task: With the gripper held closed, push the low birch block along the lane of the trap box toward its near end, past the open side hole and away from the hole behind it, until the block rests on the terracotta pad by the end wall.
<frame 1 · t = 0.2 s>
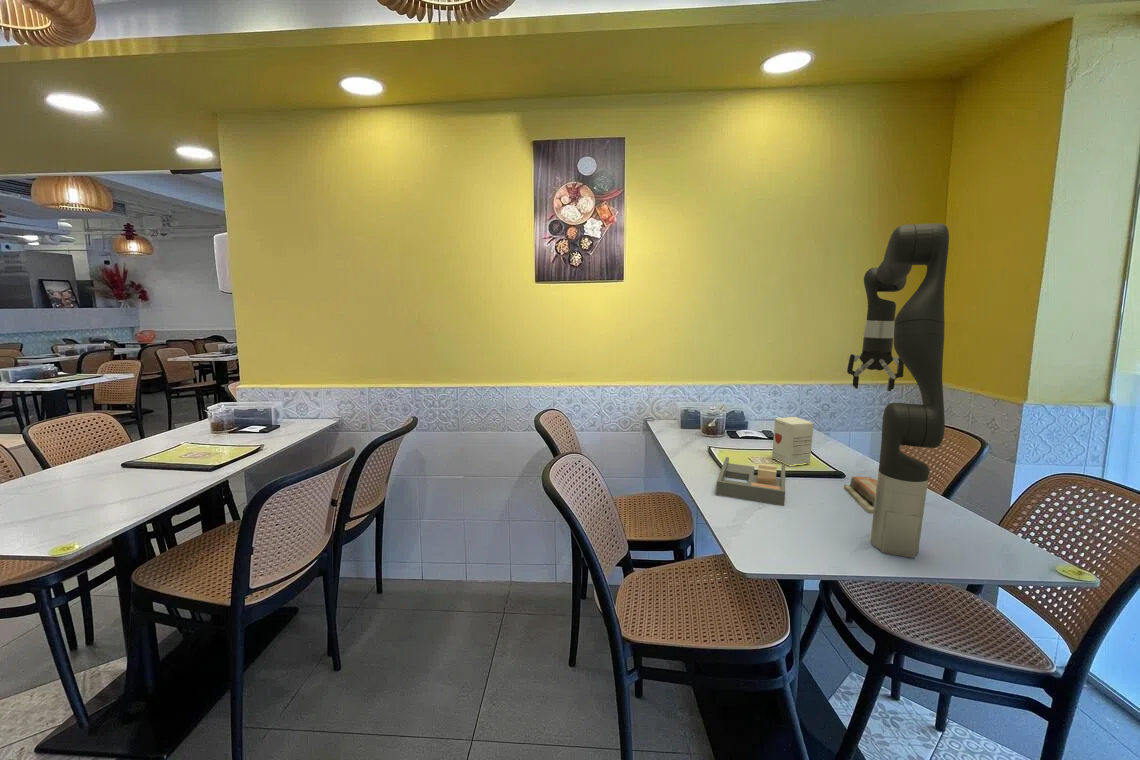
hand: (872, 389, 147), 29 cm above the table, tool pointing down, fingers open, 8 cm apart
block: (766, 480, 146), point 2 cm above the table, touching trap box
trap box: (751, 485, 147), on the table
packaged product: (873, 503, 137), on the table
supplement box: (790, 462, 169), on the table
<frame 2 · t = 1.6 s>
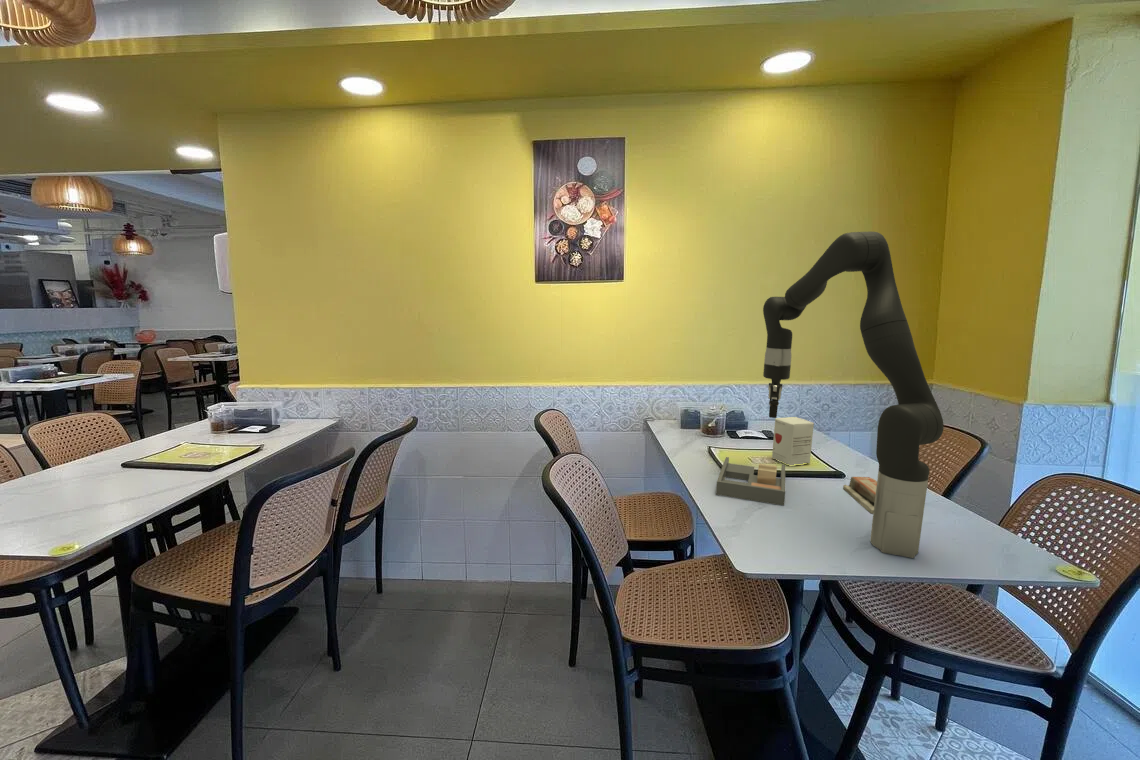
hand: (773, 414, 152), 20 cm above the table, tool pointing down, fingers open, 8 cm apart
nothing on the table moved.
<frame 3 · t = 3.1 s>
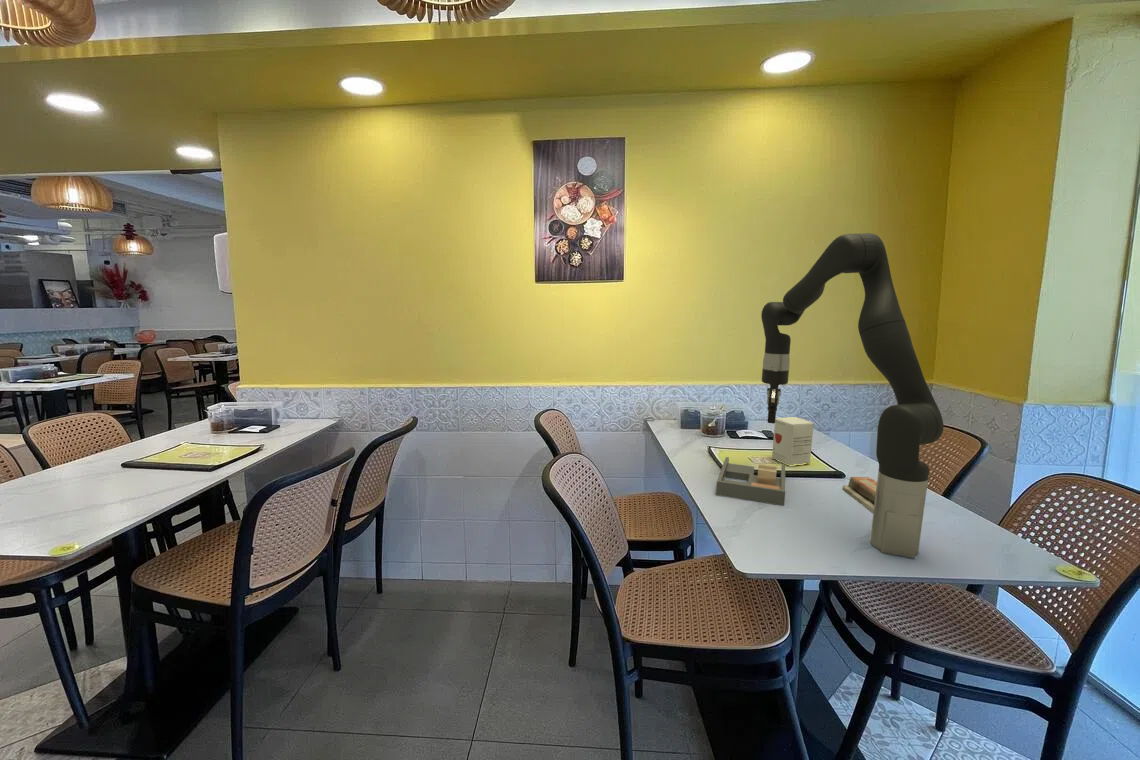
hand: (771, 422, 152), 18 cm above the table, tool pointing down, fingers closed
nothing on the table moved.
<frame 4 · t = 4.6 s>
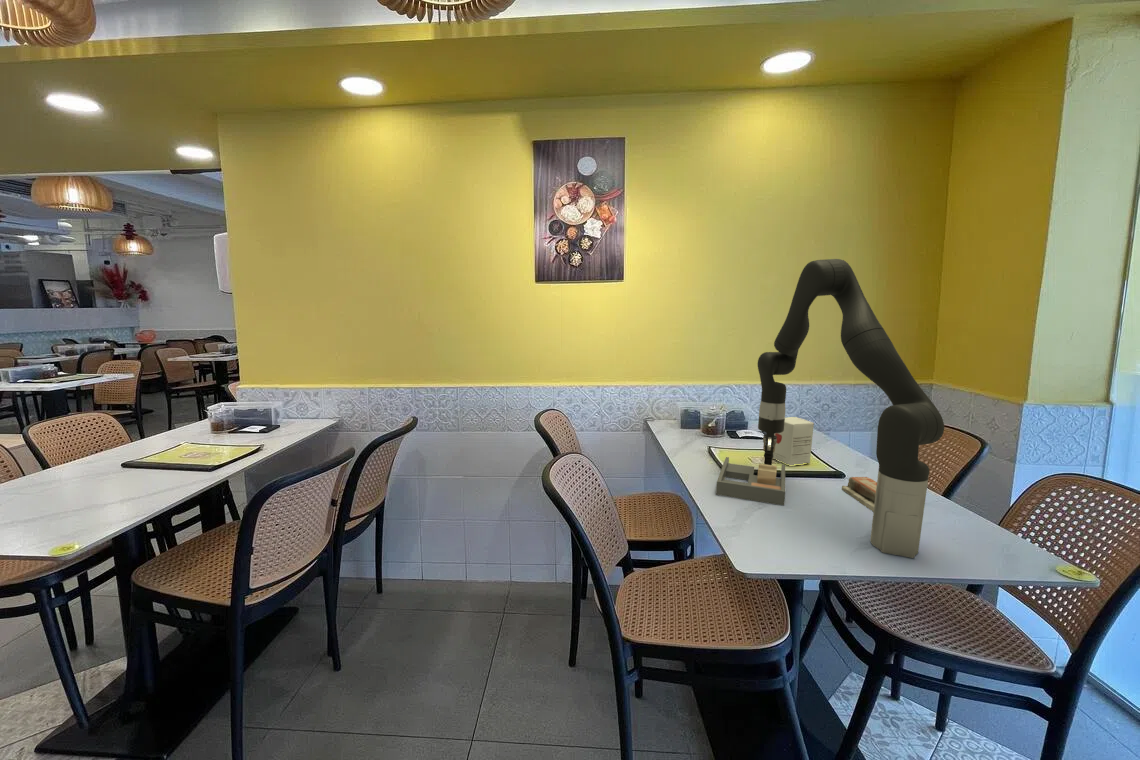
hand: (767, 468, 154), 3 cm above the table, tool pointing down, fingers closed
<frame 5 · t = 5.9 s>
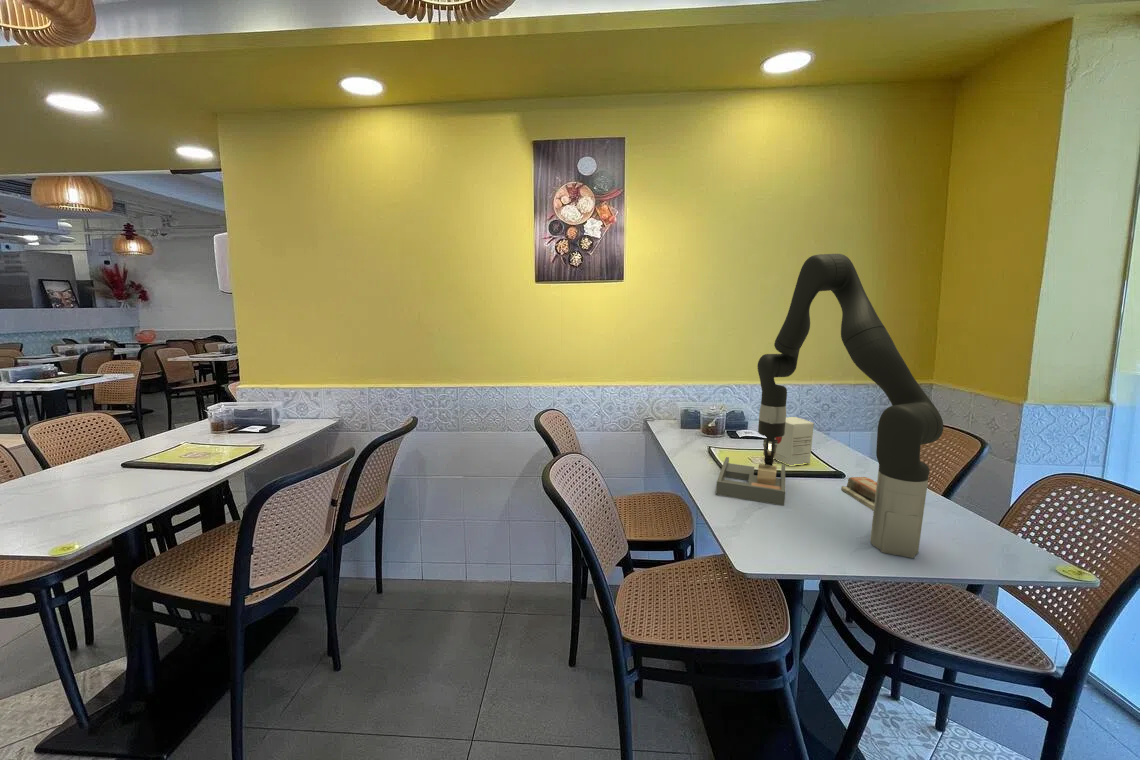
hand: (767, 473, 151), 2 cm above the table, tool pointing down, fingers closed
block: (766, 480, 146), point 2 cm above the table, touching gripper
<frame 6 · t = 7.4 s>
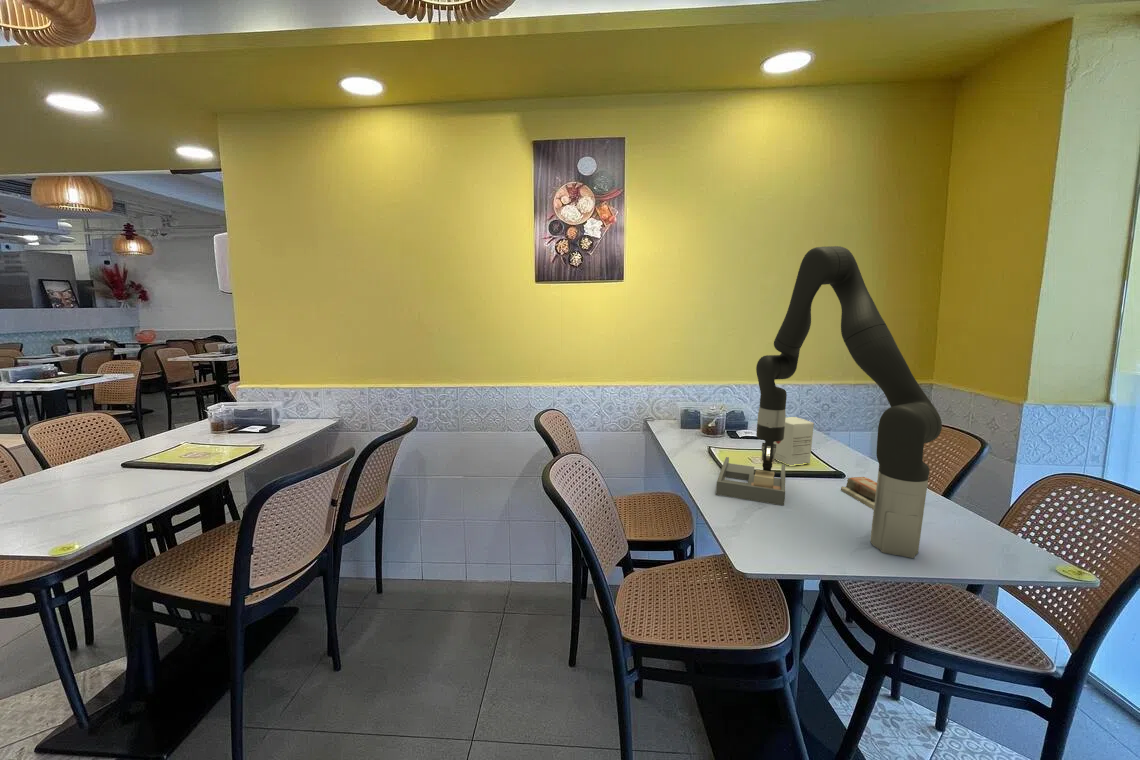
hand: (766, 478, 145), 3 cm above the table, tool pointing down, fingers closed
block: (763, 487, 141), point 2 cm above the table, touching gripper, trap box
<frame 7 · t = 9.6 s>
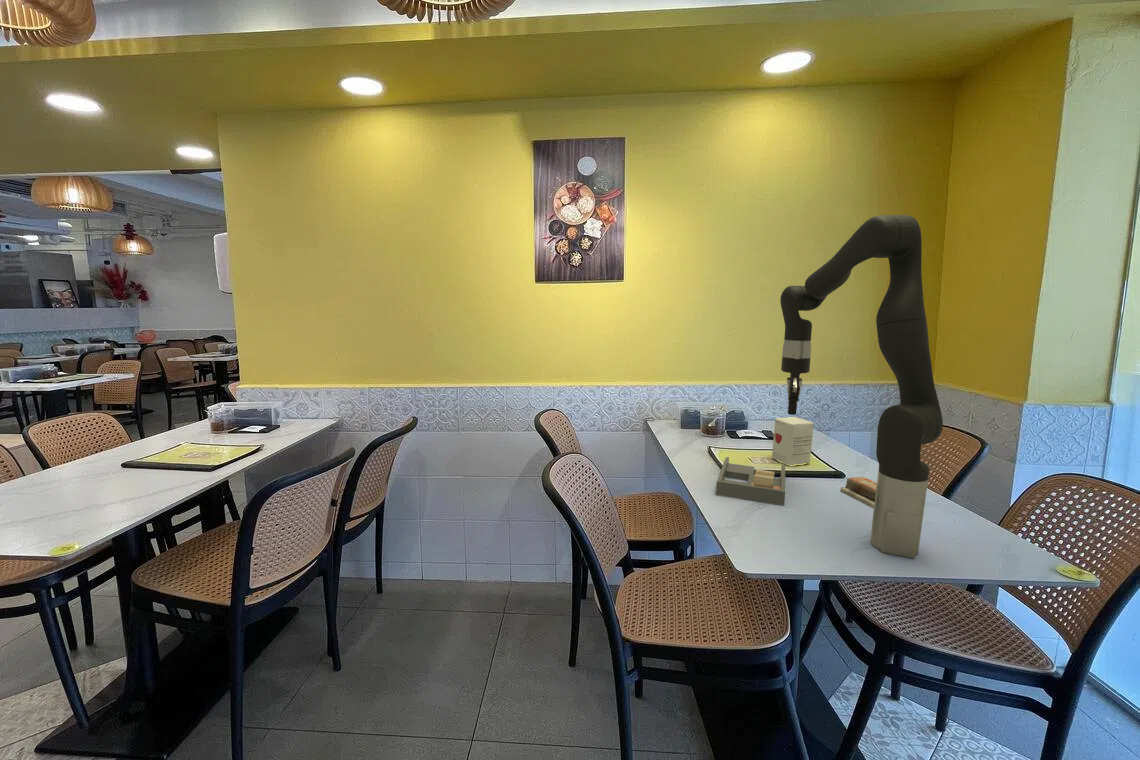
hand: (791, 414, 144), 22 cm above the table, tool pointing down, fingers closed
block: (763, 487, 141), point 2 cm above the table, touching trap box
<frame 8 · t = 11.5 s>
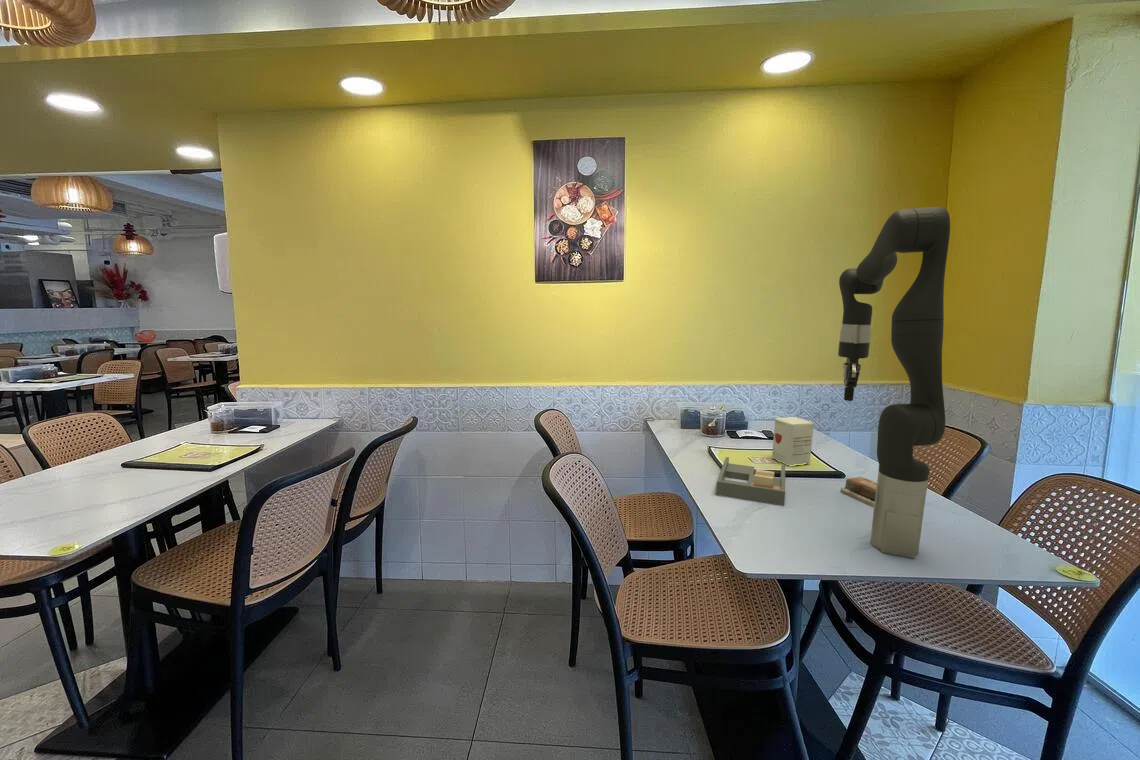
hand: (848, 400, 141), 27 cm above the table, tool pointing down, fingers closed
at the end: block 1.2 cm from the target spot on the trap box, point 2.0 cm above the trap box's base; block tilted 0° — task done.
